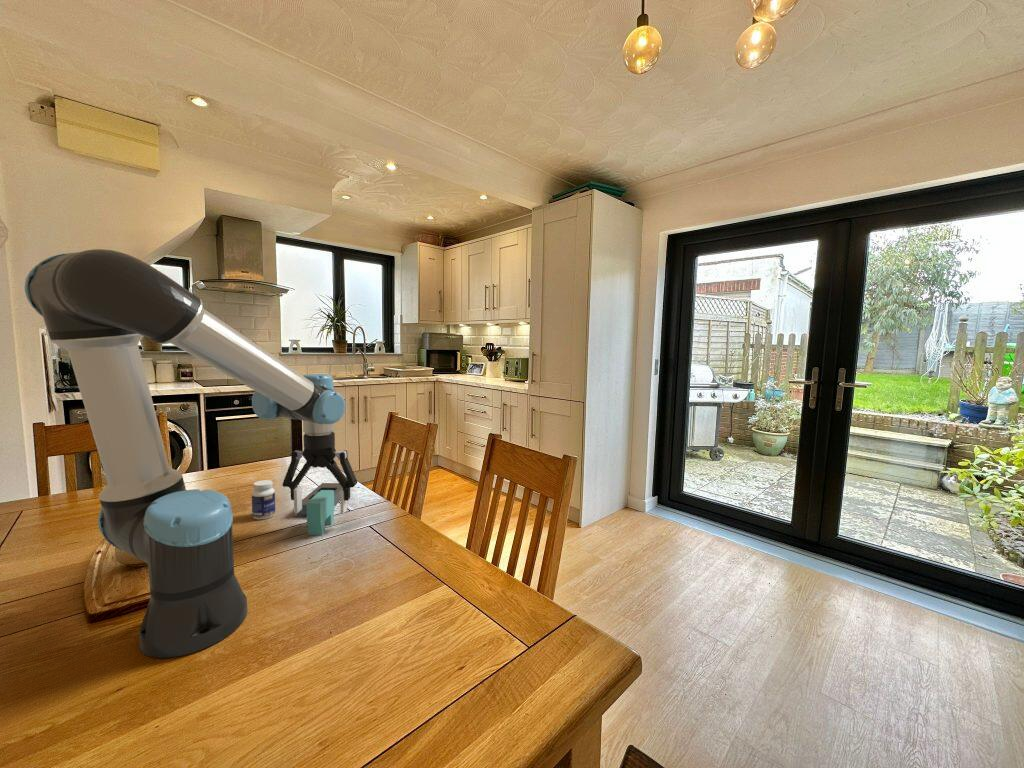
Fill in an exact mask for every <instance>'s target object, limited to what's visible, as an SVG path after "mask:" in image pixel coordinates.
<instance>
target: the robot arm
mask: <svg viewBox="0 0 1024 768" xmlns="http://www.w3.org/2000/svg"><path fill="white" fill-rule="evenodd" d="M24 292H25V293H24V294H25V296H26V299H27V300H28V302H29V304H30V306H31V307H32V308H33V309H34V311H36V312H37V314H39V315H40V316H42V318H43V321H44V324H45V326H46V327H45V328H46V331H47V333H48V336H49V337H48V338H49V339H50V342H51V343H53V344H55V345H57V346H59V347H60V348H62V349H64V350H66V351H67V353H68V356H69V359H70V363H71V367H72V369H73V373H74V376H75V380H76V382H77V386H78V390H79V392H80V393H79V394H80V396H81V398H82V399H81V400H82V403H83V405H84V409H85V413H86V416H87V419H88V422H89V426H90V429H91V432H92V437H93V439H94V443H95V446H96V448H97V453H98V455H99V460H100V463H101V466H102V470H103V473H104V477H105V479H106V483H107V484H106V485H105V487H104V488H103V489H102V490H101V491H100V492H99V494H98V498H99V499H98V500H99V502H100V505H101V508H100V510H99V512H98V513H99V514H98V517H97V526H98V530H99V532H100V534H101V535H102V537H103V538H104V539H105V541H106V542H107V543H108V544H110V545H112V547H115V548H116V549H119V550H121V551H123V552H126V553H127V554H129V555H131V556H134V557H135V558H137V559H138V560H141V561H143V562H144V563H146V564H147V567H148V569H147V570H148V579H149V581H148V582H149V592H150V598H149V602H148V604H147V608H146V611H145V614H144V616H143V619H142V622H141V625H140V628H139V632H138V641H139V649H140V651H141V652H142V653H143V654H144V655H145V656H148V657H150V658H154V659H155V658H156V659H171V658H179V657H181V656H186V655H189V654H194V653H196V652H199V651H201V650H203V649H206V648H209V647H211V646H213V645H215V644H217V643H219V642H220V641H222V640H224V639H226V638H227V637H228V636H230V635H231V634H232V633H234V632H235V631H236V630H237V629H239V627H240V626H241V625H242V624H243V623H244V622H245V620H246V618H247V616H248V599H247V596H246V595H245V593H244V592H243V590H242V587H241V584H240V583H239V580H238V578H237V576H236V573H235V565H234V564H235V559H234V556H235V555H234V537H233V536H234V535H233V521H234V520H233V519H234V517H233V516H234V515H233V511H232V506H231V503H230V502H231V501H230V500H229V498H228V497H227V496H226V495H224V494H223V493H221V492H220V491H217V490H212V489H204V490H200V489H196V488H195V489H187V488H186V485H185V481H184V476H183V473H182V472H181V471H179V470H176V469H175V468H172V467H170V464H169V460H168V456H167V451H166V449H165V445H164V440H163V437H162V436H163V435H162V433H161V429H160V425H159V421H158V417H157V414H156V410H155V405H154V401H153V398H152V394H151V389H150V386H149V382H148V378H147V374H146V371H145V367H144V363H143V358H142V355H141V352H140V347H139V343H140V341H141V340H142V339H143V338H144V337H145V338H147V339H149V340H150V341H152V342H154V343H156V344H158V345H166V344H171V345H173V346H175V347H176V348H178V349H180V350H182V351H184V352H186V353H187V354H189V355H191V356H193V357H194V358H197V359H198V360H200V361H202V362H204V363H205V364H207V365H209V366H211V367H212V368H214V369H215V370H217V371H219V372H221V373H222V374H225V375H227V376H229V377H230V378H232V379H234V380H236V381H238V382H239V383H241V384H243V385H245V386H246V387H248V388H250V389H252V390H254V392H253V394H252V396H251V408H252V410H253V413H254V414H255V415H256V416H257V417H258V419H259V418H260V419H261V420H271V419H272V420H274V419H277V418H284V419H285V418H286V419H292V420H299V421H302V432H303V433H304V434H303V437H302V438H303V450H300V449H295V450H294V451H293V452H291V455H290V463H289V466H288V468H287V472H286V474H285V476H284V479H283V482H282V486H283V487H285V488H286V487H287V488H289V490H290V499H291V501H293V507H294V508H293V511H294V514H296V513H298V512H299V511H301V510H302V500H303V495H302V491H303V490H302V488H303V487H302V486H301V485H300V483H301V482H302V480H303V479H304V477H305V476H306V475H307V473H308V472H309V471H310V470H311V468H313V469H314V468H323V469H324V468H326V469H327V470H328V471H330V473H331V474H332V476H333V477H334V478H335V479H336V481H337V483H339V484H340V485H341V486H342V489H341V490H340V501H339V503H340V514H341V515H343V514H344V513H346V511H348V501H349V500H350V498H351V488H354V487H355V486H356V485H357V484H358V480H357V477H356V474H355V473H354V471H353V470H354V469H353V468H352V465H351V463H350V461H349V458H348V457H349V455H348V450H347V449H345V450H342V451H337V450H336V437H335V436H336V435H335V434H336V433H335V432H334V431H335V424H336V423H337V422H339V421H340V420H341V419H342V418H343V416H344V414H345V411H346V400H345V398H344V396H343V395H342V394H341V393H339V392H338V391H335V385H334V379H333V378H334V377H333V376H332V375H331V374H327V373H309V374H304V375H302V374H301V373H299V372H298V371H296V370H295V369H293V368H292V367H290V366H289V364H286V363H285V362H283V361H282V360H280V359H279V358H277V357H276V356H274V355H273V354H271V353H270V352H268V351H267V350H265V349H264V348H263V347H261V346H259V345H258V344H256V343H255V342H254V341H252V340H251V339H249V338H248V337H246V336H245V335H244V334H242V333H240V332H239V331H237V330H236V329H234V328H233V327H232V326H230V325H229V324H227V323H226V322H224V321H222V320H221V319H220V318H219V317H217V316H216V315H214V314H212V313H211V312H209V311H208V310H206V309H205V308H204V304H203V301H202V299H201V298H200V297H198V296H197V295H195V294H194V293H192V292H191V291H189V290H188V289H186V288H185V287H184V286H182V285H181V284H179V283H178V282H176V281H175V280H173V279H172V278H171V277H170V276H167V274H164V273H163V272H162V271H160V270H158V269H157V268H156V267H153V266H151V265H150V264H149V263H147V262H145V261H144V260H141V259H140V258H138V257H134V256H133V255H130V254H127V253H124V252H121V251H117V250H112V249H100V248H98V249H96V248H94V249H86V250H82V251H77V252H76V251H75V252H67V253H60V254H56V255H52V256H49V257H48V258H46V259H43V260H42V261H40V262H39V263H37V264H36V265H35V266H34V267H33V268H31V269H30V271H29V272H28V274H27V276H26V278H25V281H24ZM302 457H303V458H304V459H305V463H304V465H303V466H302V468H301V470H300V471H299V472H298V474H297V475H296V476H295V474H296V471H297V469H298V466H299V463H300V460H301V459H302ZM336 457H337V460H339V462H340V466H341V468H342V470H343V471H342V470H341V468H340V467H339V466H338V463H337V462H336V460H335V458H336ZM294 477H295V478H294Z"/></svg>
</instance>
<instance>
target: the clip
mask: <svg viewBox="0 0 1024 768" xmlns="http://www.w3.org/2000/svg"><path fill="white" fill-rule="evenodd" d="M306 505H307V517H306V526H307V532H308V533H307V535H308V536H323V535H324V534H325V532H326V526H331V525H333V523H335V515H334V513H335V507H334V490H321V491H320V492H318V493H317V494H316V495H315V496H314V497H313V498H311V499H310V500H309V501H308V502H307V503H306Z"/></svg>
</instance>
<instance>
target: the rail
mask: <svg viewBox="0 0 1024 768" xmlns="http://www.w3.org/2000/svg"><path fill="white" fill-rule="evenodd" d="M341 489H342V486H341V485H340V484H339V482H322V483H320V484H319V485H318V486H317V487H316V488H314V490H312V491H311V492H310V493H309V494H307V495H306V496H305V497H304V498H302V510H301V511H299V512H298V513H295V516H296V517H297V518H298V517H300V518H301V517H303V518H304V517H306V518H307V505H306V503H307V502H308V501H309V500H310V499H311V498H313V497H314V496H315V495H316V494H317V493H318V492H320V491H321V490H334V508H335V507H336V506H337V505H338V503H340V490H341Z"/></svg>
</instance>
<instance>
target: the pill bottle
mask: <svg viewBox="0 0 1024 768" xmlns="http://www.w3.org/2000/svg"><path fill="white" fill-rule="evenodd" d="M273 486H274V485H273V480H270V479H264V480H258V481H255V482H253V489H254V490H253V491H252V492H251V516H252V519H254V520H266V519H270V518H272V517H274V515H276V490H275V489H274V488H273Z"/></svg>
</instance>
